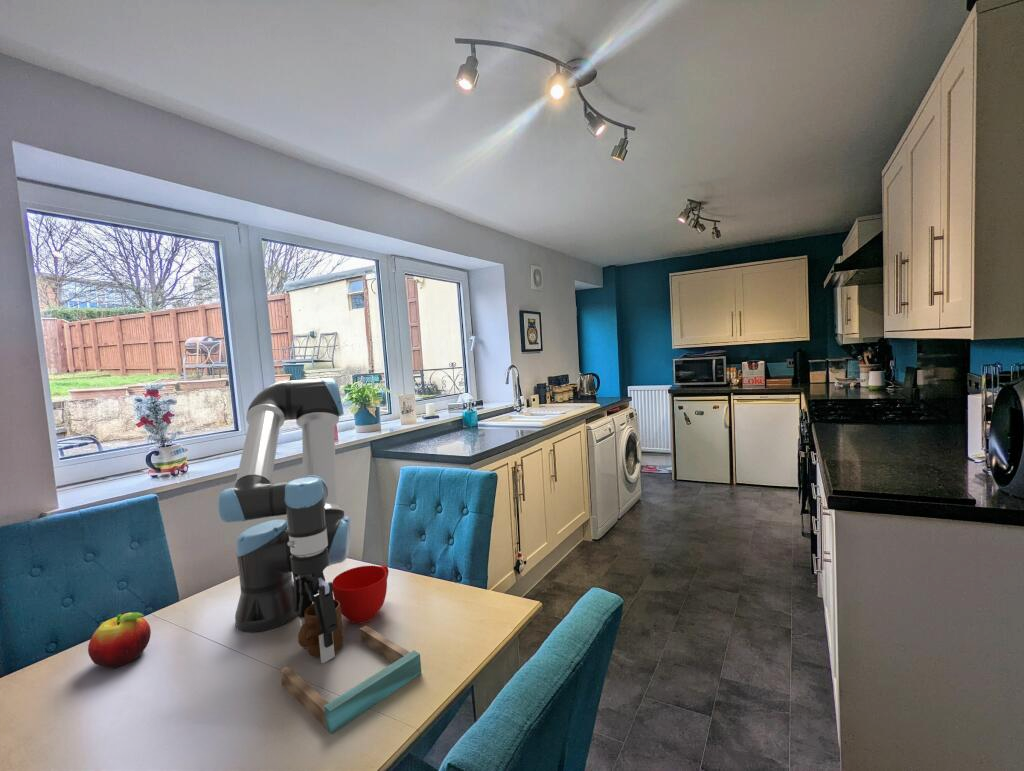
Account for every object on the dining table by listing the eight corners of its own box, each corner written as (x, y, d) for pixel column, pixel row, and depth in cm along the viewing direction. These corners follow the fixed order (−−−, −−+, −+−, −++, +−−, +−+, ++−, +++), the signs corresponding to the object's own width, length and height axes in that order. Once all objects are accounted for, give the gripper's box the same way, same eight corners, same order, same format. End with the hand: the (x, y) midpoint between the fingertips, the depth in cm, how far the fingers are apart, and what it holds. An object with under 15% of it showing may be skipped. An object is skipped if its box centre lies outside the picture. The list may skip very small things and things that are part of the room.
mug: (318, 674, 95) (314, 629, 95) (286, 671, 97) (282, 627, 96) (350, 639, 107) (347, 599, 106) (321, 637, 109) (317, 597, 108)
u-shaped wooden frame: (281, 684, 93) (280, 665, 93) (366, 638, 107) (365, 621, 107) (331, 733, 80) (329, 711, 79) (421, 672, 94) (419, 653, 94)
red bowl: (409, 598, 124) (406, 562, 123) (366, 635, 108) (363, 593, 108) (369, 592, 129) (366, 556, 128) (323, 626, 113) (320, 586, 113)
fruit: (114, 647, 110) (109, 606, 109) (163, 642, 111) (159, 601, 110) (76, 678, 99) (71, 633, 98) (131, 672, 100) (126, 627, 99)
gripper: (271, 545, 105) (280, 643, 107) (315, 569, 92) (324, 680, 93) (304, 535, 111) (312, 627, 112) (350, 555, 97) (359, 660, 99)
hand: (318, 651), depth 103 cm, fingers closed on mug, 8 cm apart
